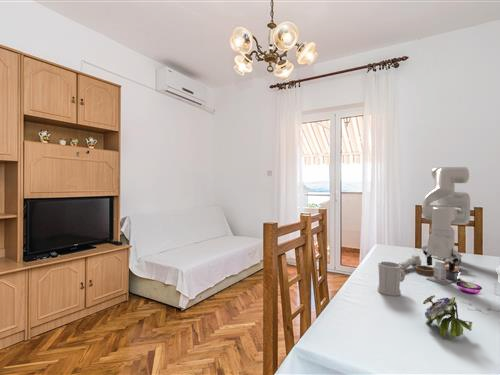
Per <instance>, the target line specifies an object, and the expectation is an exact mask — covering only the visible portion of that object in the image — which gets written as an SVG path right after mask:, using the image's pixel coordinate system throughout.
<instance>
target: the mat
mask: <svg viewBox="0 0 500 375" xmlns="http://www.w3.org/2000/svg"><path fill="white" fill-rule="evenodd" d="M426 281H430V282H434V283H437V284H441V285H444V286H445V285H446V286H447V285H448V284H452V283H455V282H454V281H452V280H448V279H446V280H445V281H439V280H435V279H434V276H429V277H427V278H426Z"/></svg>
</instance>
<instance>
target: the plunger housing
mask: <svg viewBox="0 0 500 375" xmlns="http://www.w3.org/2000/svg"><path fill="white" fill-rule="evenodd" d="M458 273H459V272H458V271H455V272H450V271H448V270H446V279H448V280H452V281H454V282H453V283H455V282H458V281H459V280H458V279H457V276H458Z"/></svg>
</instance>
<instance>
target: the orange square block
mask: <svg viewBox="0 0 500 375" xmlns="http://www.w3.org/2000/svg"><path fill="white" fill-rule="evenodd" d="M445 267H446V270H448V271H449V264H447V265H445ZM455 271H460V266H458V267H457V266H455V270H454V271H451V272H455Z"/></svg>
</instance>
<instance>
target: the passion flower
mask: <svg viewBox="0 0 500 375" xmlns="http://www.w3.org/2000/svg"><path fill="white" fill-rule="evenodd" d="M435 297H436V295H430V296H429V297H427V298H426V299H425V300H424V301H423V302H422V304H423V305H426V304H428V303H431V304H430V306H429V307H427V308H426V312H424V316H425V319H426V321H425V325H428V326H429V325H430V326H431V325H432V324H433V322H434V321H435V320H436V325H438V326H439V334H440V336H441V338H443V339H444V340H446V336H447V334H448V333H449V336H450V339H451V340H452V339H455V338H456V337H458V338H459V337H460V336H462V335H464V328H465V329H467V330H468V331H472V325H473V321H468V320H463V319H460V318H459V314H458V313H459V312H458V305H457V302H456V297H455V296H452V297H451V298H449V297H443V298H440V299H439V298H438V299H437V301H435V302H433V299H434V298H435ZM446 316H447V317H446ZM449 326H450V329H449Z"/></svg>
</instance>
